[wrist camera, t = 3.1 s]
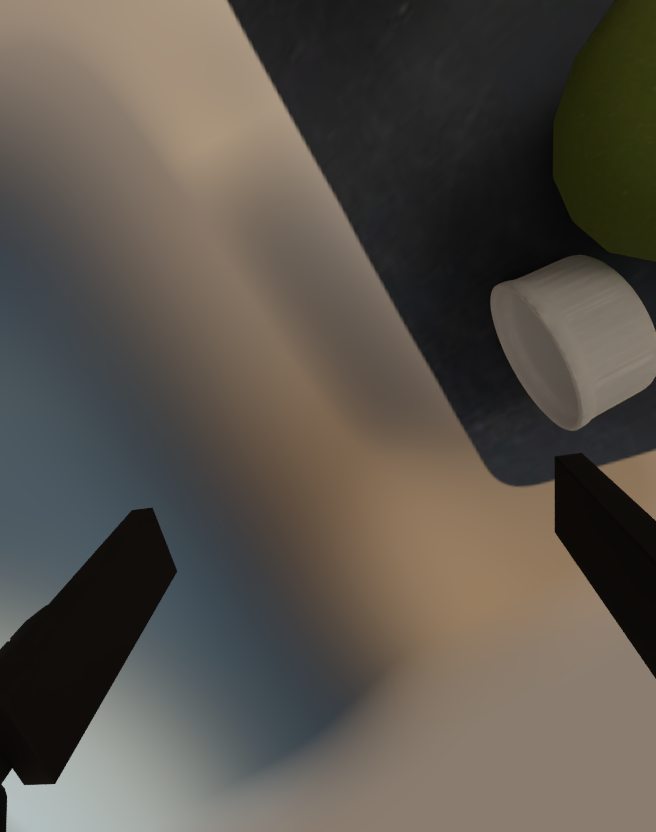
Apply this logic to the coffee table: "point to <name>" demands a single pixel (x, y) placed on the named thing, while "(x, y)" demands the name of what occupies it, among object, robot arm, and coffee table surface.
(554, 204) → the coffee table surface
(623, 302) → the ramekin
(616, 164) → the apple
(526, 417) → the coffee table surface
